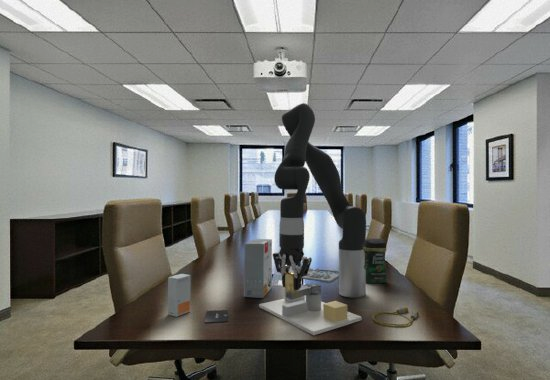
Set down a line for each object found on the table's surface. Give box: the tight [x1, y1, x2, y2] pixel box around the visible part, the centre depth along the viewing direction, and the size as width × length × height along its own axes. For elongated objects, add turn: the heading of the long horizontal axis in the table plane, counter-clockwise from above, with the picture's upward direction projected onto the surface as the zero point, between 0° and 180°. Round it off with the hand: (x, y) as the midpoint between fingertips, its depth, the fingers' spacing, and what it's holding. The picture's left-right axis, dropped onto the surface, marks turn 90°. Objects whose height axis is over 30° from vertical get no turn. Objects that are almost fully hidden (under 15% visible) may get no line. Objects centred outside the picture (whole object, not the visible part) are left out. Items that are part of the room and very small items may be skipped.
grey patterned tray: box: [291, 266, 339, 284], centre depth 160 cm, size 23×3×20 cm
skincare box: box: [167, 273, 192, 317], centre depth 109 cm, size 6×4×12 cm
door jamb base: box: [258, 291, 363, 336], centre depth 108 cm, size 19×28×6 cm
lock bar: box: [284, 271, 322, 300], centre depth 107 cm, size 14×5×8 cm, turn 132°
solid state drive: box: [204, 309, 229, 324], centre depth 106 cm, size 7×10×1 cm
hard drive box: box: [243, 238, 273, 299], centre depth 132 cm, size 16×8×20 cm, turn 168°
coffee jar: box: [364, 238, 388, 284], centre depth 147 cm, size 10×8×19 cm
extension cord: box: [372, 306, 420, 328], centre depth 103 cm, size 12×16×2 cm
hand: (291, 288), depth 103 cm, fingers closed on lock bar, 3 cm apart
